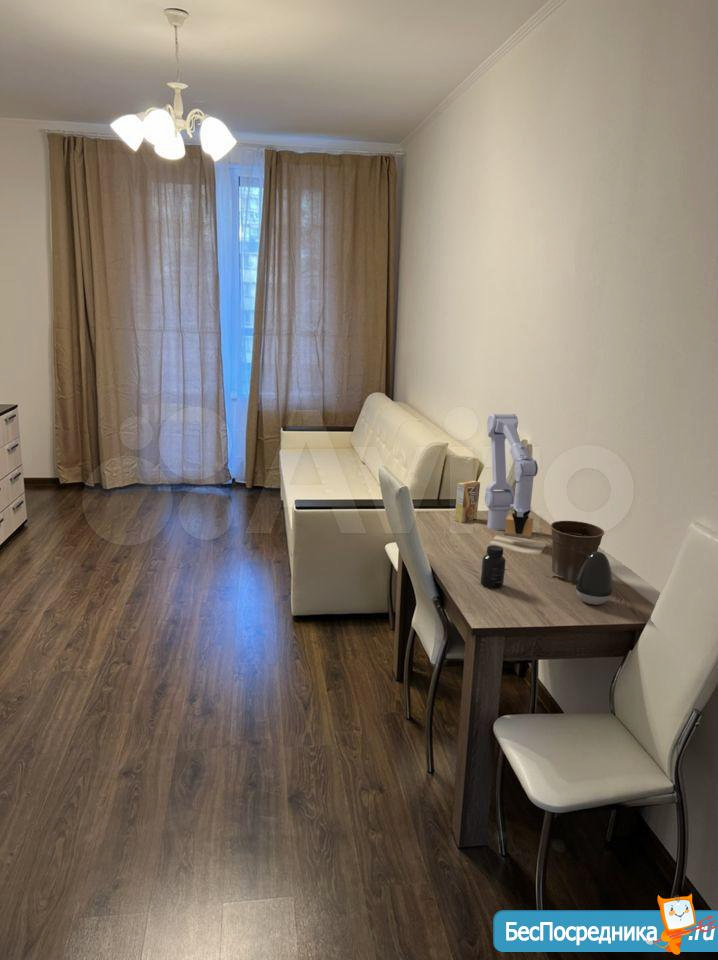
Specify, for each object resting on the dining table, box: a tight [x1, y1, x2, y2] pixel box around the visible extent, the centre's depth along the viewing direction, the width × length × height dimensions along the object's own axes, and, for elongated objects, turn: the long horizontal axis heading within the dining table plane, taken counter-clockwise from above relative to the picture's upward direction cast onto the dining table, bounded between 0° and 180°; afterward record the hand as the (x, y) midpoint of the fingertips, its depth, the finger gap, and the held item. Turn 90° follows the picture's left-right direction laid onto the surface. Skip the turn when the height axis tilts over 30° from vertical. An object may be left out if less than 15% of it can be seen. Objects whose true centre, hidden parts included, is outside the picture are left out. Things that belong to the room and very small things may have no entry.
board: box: [486, 534, 548, 557], centre depth 258 cm, size 16×18×2 cm
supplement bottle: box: [480, 545, 506, 589], centre depth 221 cm, size 7×7×12 cm
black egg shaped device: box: [575, 551, 614, 606], centre depth 212 cm, size 10×10×15 cm
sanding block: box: [504, 515, 534, 540], centre depth 258 cm, size 5×9×6 cm, turn 73°
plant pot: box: [550, 520, 605, 584], centre depth 231 cm, size 16×16×16 cm
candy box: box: [454, 480, 481, 523], centre depth 288 cm, size 9×4×15 cm, turn 129°
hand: (519, 531), depth 258 cm, fingers closed on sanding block, 5 cm apart
